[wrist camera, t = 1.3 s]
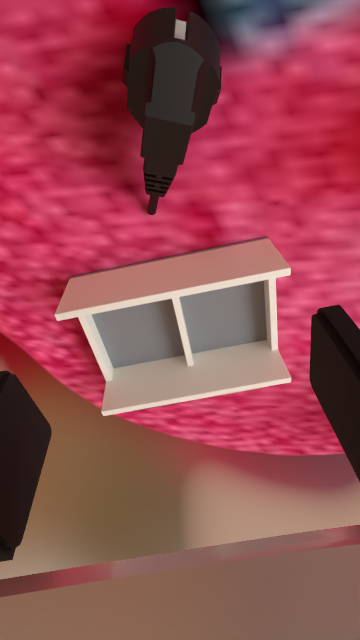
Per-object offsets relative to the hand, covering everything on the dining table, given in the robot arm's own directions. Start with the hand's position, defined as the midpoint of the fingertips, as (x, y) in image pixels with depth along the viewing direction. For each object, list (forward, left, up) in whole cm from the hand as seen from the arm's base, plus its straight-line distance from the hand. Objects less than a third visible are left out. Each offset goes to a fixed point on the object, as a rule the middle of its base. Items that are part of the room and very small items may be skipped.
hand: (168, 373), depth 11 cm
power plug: (-1, 0, -23) cm, 23 cm away
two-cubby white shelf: (+11, 0, -20) cm, 23 cm away
